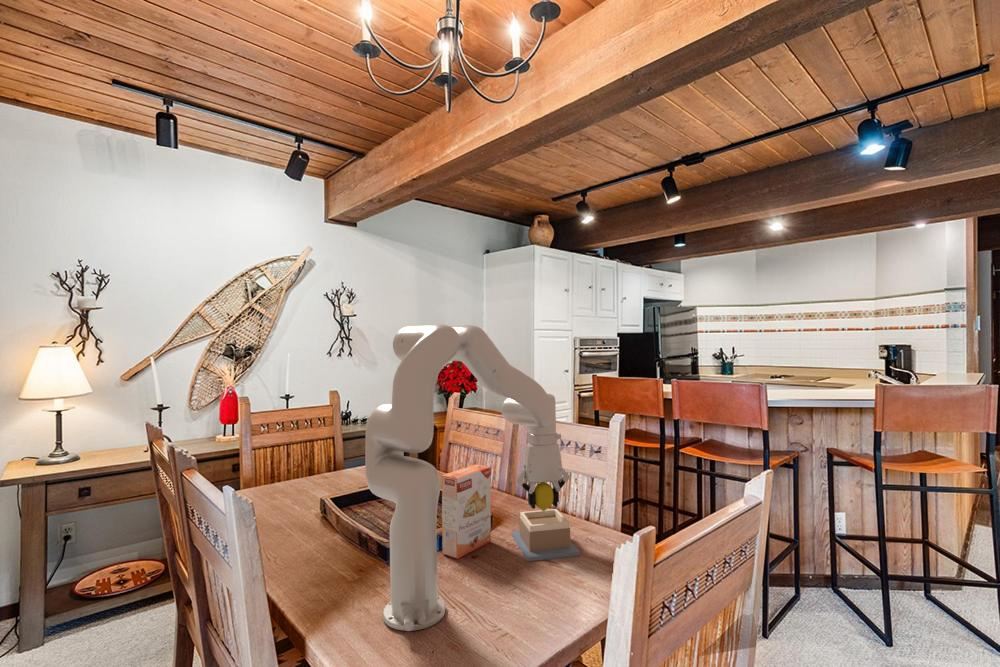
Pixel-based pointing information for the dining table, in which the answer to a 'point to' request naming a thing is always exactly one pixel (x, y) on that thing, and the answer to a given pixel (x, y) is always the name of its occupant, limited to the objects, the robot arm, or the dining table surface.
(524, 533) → the stand
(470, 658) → the dining table surface
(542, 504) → the lemon
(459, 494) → the cracker box
